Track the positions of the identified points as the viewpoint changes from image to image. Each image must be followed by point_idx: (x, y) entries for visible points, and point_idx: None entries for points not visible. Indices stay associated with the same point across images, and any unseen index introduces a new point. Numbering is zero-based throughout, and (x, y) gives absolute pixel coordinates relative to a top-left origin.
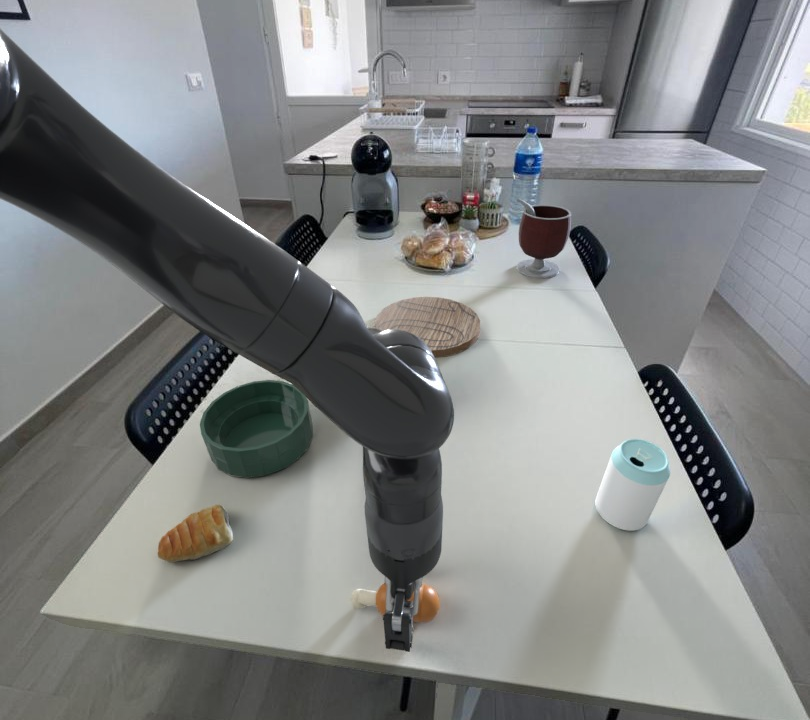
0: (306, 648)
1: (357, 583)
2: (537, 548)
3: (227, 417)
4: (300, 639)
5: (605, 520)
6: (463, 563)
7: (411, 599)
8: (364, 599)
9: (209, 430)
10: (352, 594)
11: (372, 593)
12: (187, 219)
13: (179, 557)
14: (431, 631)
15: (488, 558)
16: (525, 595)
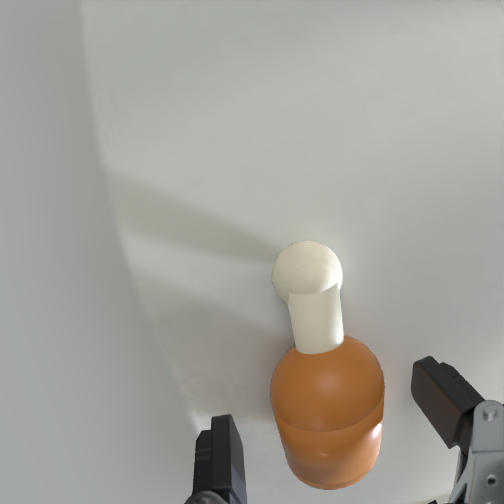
0: (102, 160)
1: (359, 224)
2: (443, 477)
3: None
4: (118, 126)
5: None
6: (431, 426)
7: (326, 470)
8: (302, 316)
9: None
10: (310, 255)
11: (330, 336)
12: None
13: None
14: (281, 442)
15: (436, 448)
16: (375, 498)
